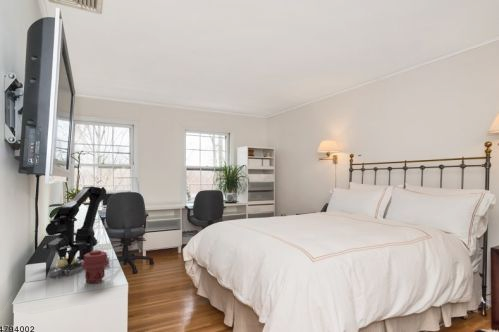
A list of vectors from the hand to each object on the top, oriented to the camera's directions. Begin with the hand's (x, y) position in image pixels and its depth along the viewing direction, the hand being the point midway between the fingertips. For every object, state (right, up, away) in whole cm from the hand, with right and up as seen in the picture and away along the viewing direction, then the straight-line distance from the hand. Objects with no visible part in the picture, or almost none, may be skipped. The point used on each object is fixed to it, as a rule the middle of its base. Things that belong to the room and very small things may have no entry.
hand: (66, 263), depth 139 cm
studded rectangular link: (+7, -1, -9) cm, 11 cm away
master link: (0, -1, 0) cm, 1 cm away
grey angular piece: (+17, -1, -1) cm, 17 cm away
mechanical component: (+25, 0, -21) cm, 33 cm away
